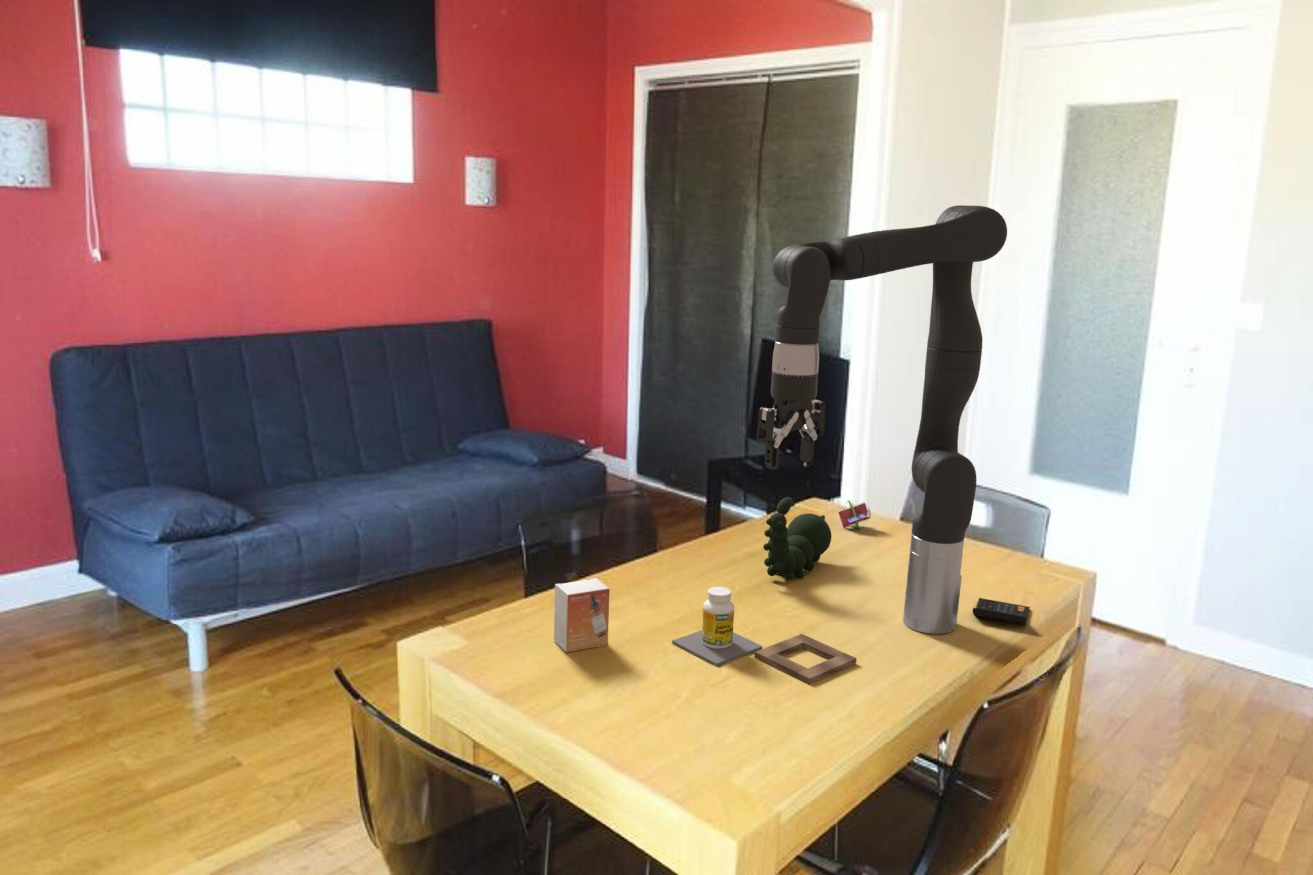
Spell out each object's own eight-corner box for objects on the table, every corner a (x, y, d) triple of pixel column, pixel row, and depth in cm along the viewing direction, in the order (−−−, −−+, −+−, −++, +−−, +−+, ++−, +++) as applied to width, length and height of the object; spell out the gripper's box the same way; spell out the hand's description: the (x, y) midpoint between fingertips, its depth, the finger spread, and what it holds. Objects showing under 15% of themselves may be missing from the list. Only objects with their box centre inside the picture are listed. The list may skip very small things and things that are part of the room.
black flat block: (1029, 610, 192) (1031, 596, 191) (1024, 633, 181) (1026, 618, 181) (978, 601, 195) (980, 587, 195) (971, 623, 185) (972, 608, 184)
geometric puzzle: (835, 523, 233) (858, 498, 232) (828, 514, 239) (850, 489, 238) (858, 541, 234) (880, 515, 233) (850, 531, 241) (871, 506, 240)
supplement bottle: (720, 633, 175) (722, 582, 172) (738, 645, 170) (741, 593, 168) (695, 640, 172) (697, 588, 170) (713, 652, 167) (716, 599, 165)
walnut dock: (801, 639, 175) (801, 633, 175) (856, 663, 166) (856, 658, 166) (754, 657, 167) (754, 651, 167) (809, 684, 158) (809, 678, 158)
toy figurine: (793, 600, 196) (842, 555, 216) (796, 511, 191) (846, 473, 211) (750, 589, 201) (803, 546, 221) (752, 502, 196) (805, 466, 216)
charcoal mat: (717, 627, 179) (717, 624, 178) (762, 648, 171) (762, 646, 170) (671, 643, 171) (672, 640, 171) (716, 666, 163) (716, 663, 163)
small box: (565, 653, 166) (566, 595, 164) (553, 640, 171) (553, 583, 169) (608, 645, 170) (610, 588, 167) (595, 633, 175) (596, 576, 172)
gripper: (783, 376, 155) (777, 476, 159) (840, 369, 165) (833, 463, 168) (748, 370, 161) (743, 466, 165) (806, 362, 170) (800, 454, 174)
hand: (789, 464), depth 167 cm, fingers open, 8 cm apart
